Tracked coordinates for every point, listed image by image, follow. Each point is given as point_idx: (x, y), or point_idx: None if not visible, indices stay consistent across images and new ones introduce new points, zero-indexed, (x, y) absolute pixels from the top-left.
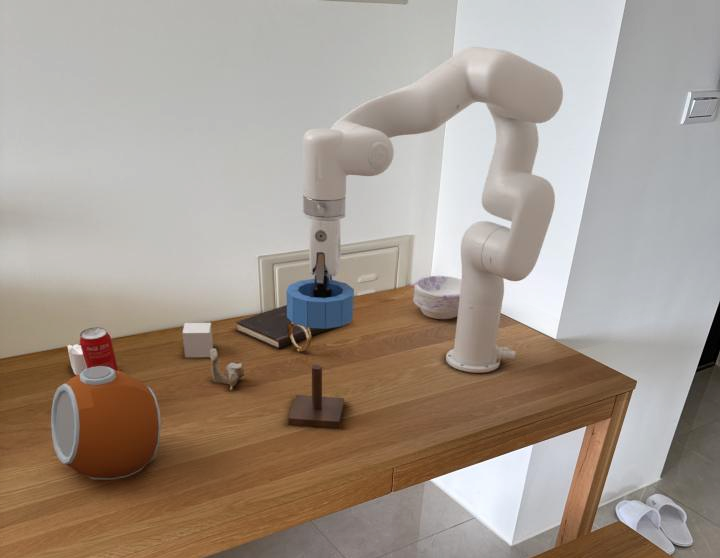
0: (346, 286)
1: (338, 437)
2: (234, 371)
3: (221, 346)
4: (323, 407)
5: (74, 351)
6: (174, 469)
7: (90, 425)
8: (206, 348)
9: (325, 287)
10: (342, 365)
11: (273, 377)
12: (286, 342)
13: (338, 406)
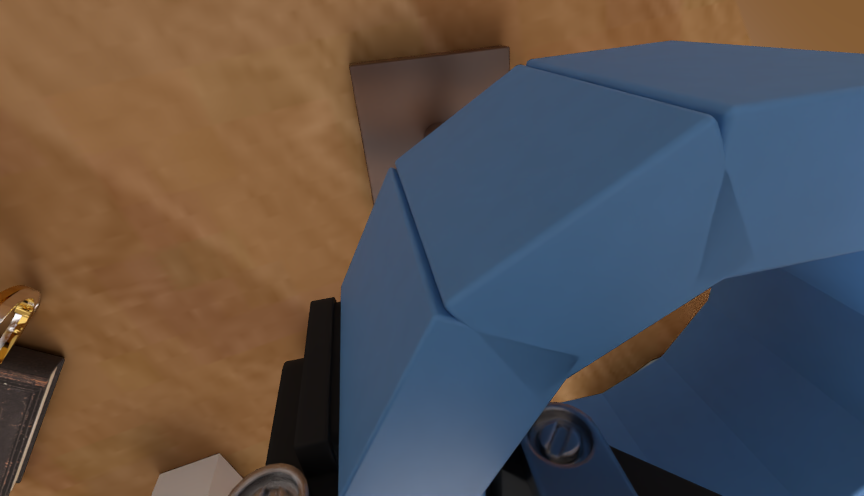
0: (595, 270)
1: (551, 35)
2: None
3: (146, 462)
4: (433, 118)
5: None
6: (674, 318)
7: None
8: (219, 479)
9: (642, 464)
10: (43, 139)
11: (258, 304)
12: (19, 354)
13: (414, 71)
